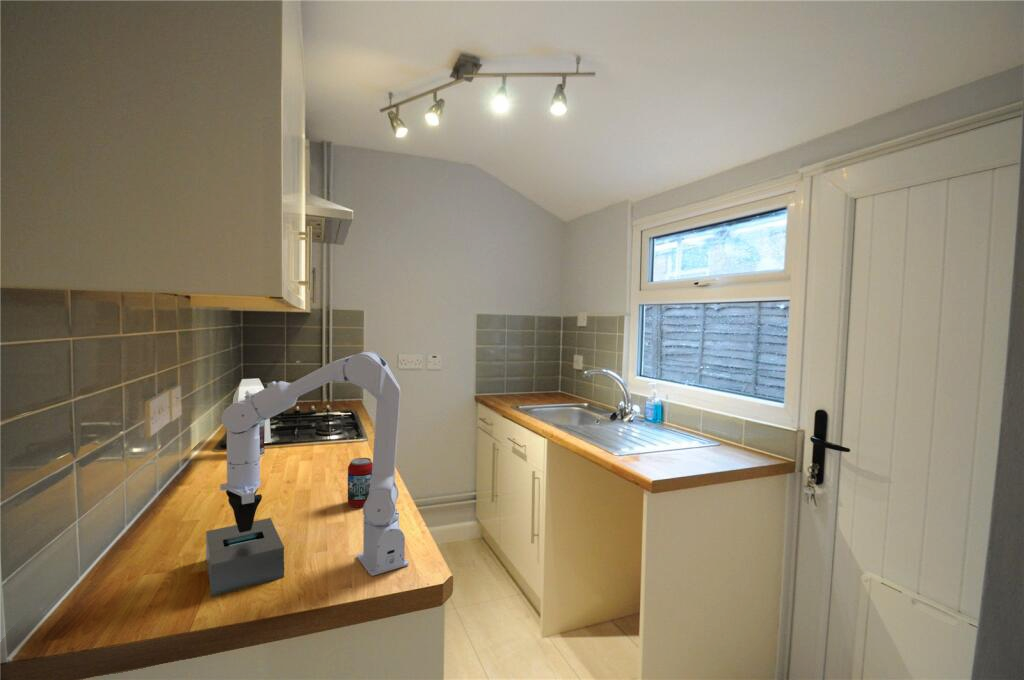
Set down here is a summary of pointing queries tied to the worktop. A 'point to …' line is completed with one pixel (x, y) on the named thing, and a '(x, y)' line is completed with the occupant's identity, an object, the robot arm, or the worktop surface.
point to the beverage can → (359, 481)
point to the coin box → (243, 557)
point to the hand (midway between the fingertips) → (243, 527)
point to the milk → (252, 387)
